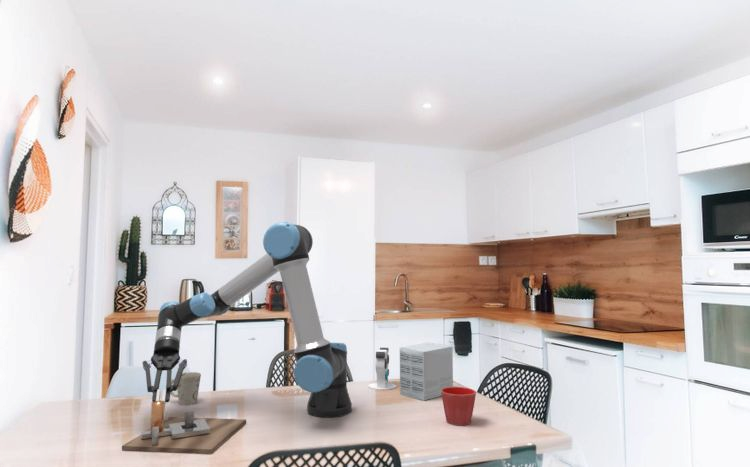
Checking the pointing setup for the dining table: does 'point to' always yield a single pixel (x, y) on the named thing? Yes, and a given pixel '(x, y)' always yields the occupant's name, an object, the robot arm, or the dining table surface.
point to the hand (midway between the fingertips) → (159, 411)
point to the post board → (190, 444)
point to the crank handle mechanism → (174, 429)
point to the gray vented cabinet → (425, 370)
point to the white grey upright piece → (382, 371)
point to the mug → (188, 388)
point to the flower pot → (458, 404)
